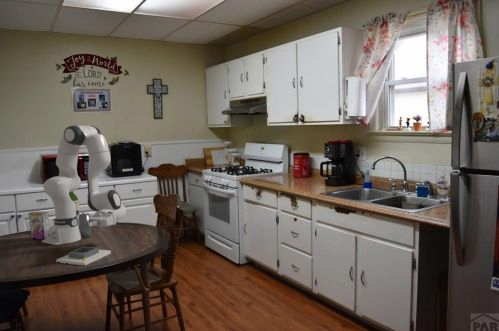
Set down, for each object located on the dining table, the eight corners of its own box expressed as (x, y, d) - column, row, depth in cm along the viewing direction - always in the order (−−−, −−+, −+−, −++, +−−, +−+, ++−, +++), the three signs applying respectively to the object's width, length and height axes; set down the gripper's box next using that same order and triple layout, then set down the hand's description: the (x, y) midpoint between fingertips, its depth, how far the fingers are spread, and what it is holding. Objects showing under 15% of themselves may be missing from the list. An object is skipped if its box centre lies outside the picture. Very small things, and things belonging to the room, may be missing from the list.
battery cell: (78, 238, 201) (76, 213, 200) (86, 235, 206) (83, 211, 204) (86, 239, 199) (84, 214, 198) (93, 236, 204) (91, 211, 202)
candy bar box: (30, 239, 242) (27, 212, 241) (37, 236, 247) (34, 210, 245) (44, 240, 239) (41, 213, 237) (51, 237, 243) (48, 211, 242)
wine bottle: (75, 231, 257) (70, 181, 253) (63, 230, 258) (58, 181, 255) (83, 227, 265) (79, 179, 262) (71, 227, 267) (67, 179, 264)
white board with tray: (56, 262, 196) (55, 254, 196) (83, 250, 213) (83, 243, 212) (85, 265, 190) (84, 257, 189) (110, 253, 206) (110, 245, 206)
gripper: (86, 211, 217) (67, 217, 204) (117, 212, 210) (99, 219, 197) (87, 222, 218) (68, 229, 205) (118, 224, 210) (100, 231, 197)
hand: (83, 224), depth 201 cm, fingers closed on battery cell, 5 cm apart
